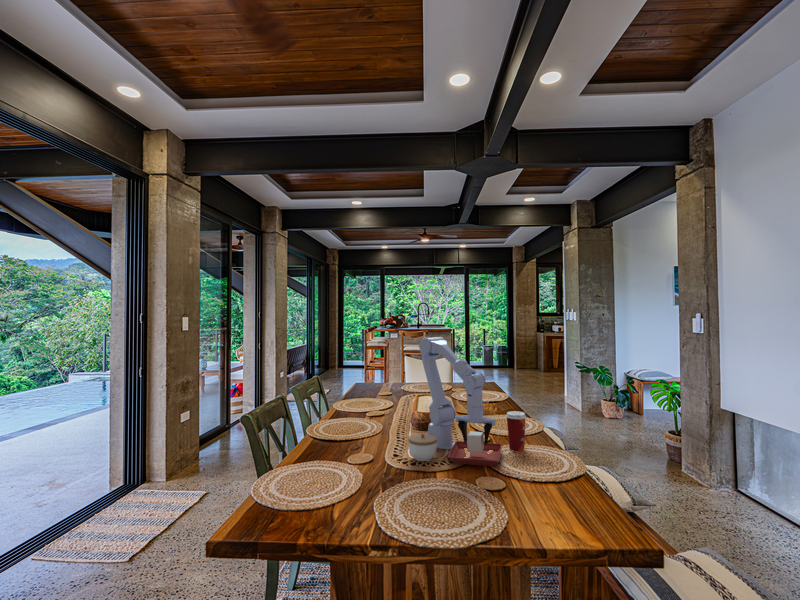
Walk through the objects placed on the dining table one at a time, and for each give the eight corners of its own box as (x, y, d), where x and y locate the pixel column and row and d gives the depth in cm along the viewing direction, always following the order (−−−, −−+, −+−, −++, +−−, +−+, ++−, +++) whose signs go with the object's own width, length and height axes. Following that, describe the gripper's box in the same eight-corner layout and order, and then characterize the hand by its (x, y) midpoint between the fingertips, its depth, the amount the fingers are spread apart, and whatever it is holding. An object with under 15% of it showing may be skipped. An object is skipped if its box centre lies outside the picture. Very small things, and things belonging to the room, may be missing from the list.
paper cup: (529, 452, 152) (528, 415, 152) (509, 452, 152) (508, 415, 153) (523, 445, 160) (522, 410, 160) (504, 445, 160) (503, 410, 160)
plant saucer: (447, 465, 142) (447, 456, 142) (455, 448, 159) (455, 440, 160) (499, 470, 137) (499, 460, 137) (502, 452, 154) (502, 443, 154)
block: (467, 451, 146) (466, 435, 147) (470, 447, 151) (469, 431, 151) (481, 453, 145) (480, 436, 145) (483, 448, 149) (483, 432, 149)
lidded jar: (427, 466, 140) (426, 439, 141) (402, 460, 147) (402, 434, 147) (443, 457, 149) (442, 432, 149) (419, 451, 155) (418, 427, 156)
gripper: (453, 406, 148) (453, 443, 147) (492, 409, 142) (493, 448, 142) (457, 402, 154) (458, 438, 154) (495, 405, 149) (496, 442, 148)
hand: (475, 442), depth 148 cm, fingers open, 7 cm apart
